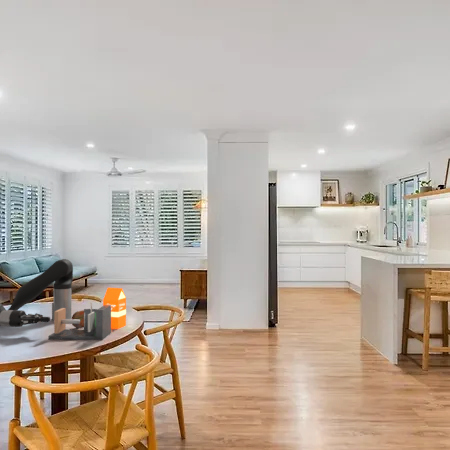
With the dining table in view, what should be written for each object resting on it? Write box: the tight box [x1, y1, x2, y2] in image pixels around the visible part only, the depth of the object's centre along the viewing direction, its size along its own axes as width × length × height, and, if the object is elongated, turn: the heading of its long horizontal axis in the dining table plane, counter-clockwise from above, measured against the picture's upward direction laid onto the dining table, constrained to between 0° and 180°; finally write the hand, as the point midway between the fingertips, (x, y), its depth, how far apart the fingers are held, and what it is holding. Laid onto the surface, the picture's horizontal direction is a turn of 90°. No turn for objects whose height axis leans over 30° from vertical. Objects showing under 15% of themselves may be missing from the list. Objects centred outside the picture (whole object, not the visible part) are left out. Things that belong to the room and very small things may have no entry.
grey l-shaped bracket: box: [47, 305, 112, 341], centre depth 184 cm, size 25×12×14 cm, turn 88°
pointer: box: [88, 302, 95, 332], centre depth 183 cm, size 1×6×13 cm, turn 178°
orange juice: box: [102, 287, 127, 330], centre depth 202 cm, size 8×9×20 cm
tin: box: [71, 309, 84, 329], centre depth 203 cm, size 15×3×8 cm, turn 148°
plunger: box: [53, 308, 80, 333], centre depth 183 cm, size 10×8×10 cm
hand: (49, 319), depth 184 cm, fingers closed
